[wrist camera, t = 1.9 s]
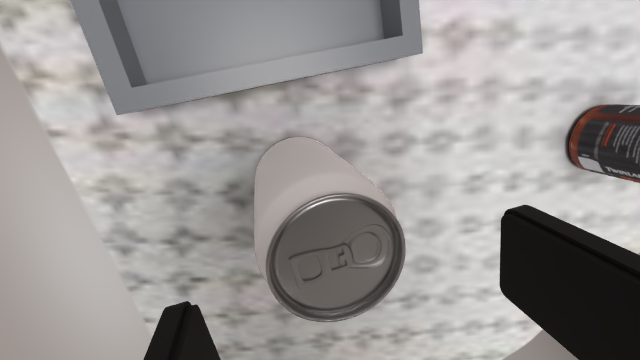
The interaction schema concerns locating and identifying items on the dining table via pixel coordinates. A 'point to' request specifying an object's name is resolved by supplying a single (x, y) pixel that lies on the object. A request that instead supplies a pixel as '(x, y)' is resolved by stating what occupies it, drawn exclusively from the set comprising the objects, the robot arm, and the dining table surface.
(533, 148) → the dining table surface
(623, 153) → the supplement bottle
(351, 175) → the can
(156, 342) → the robot arm
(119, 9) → the tray
